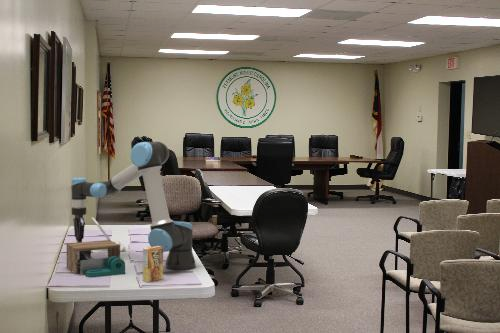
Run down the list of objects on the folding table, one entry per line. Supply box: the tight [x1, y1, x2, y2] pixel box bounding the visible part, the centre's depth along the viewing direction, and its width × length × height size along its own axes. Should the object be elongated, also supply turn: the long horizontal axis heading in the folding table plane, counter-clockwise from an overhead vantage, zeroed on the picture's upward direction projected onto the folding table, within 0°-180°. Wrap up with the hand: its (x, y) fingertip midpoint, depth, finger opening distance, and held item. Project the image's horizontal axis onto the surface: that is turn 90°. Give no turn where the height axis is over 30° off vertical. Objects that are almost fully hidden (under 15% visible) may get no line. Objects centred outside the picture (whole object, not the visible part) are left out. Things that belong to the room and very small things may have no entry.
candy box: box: [142, 246, 164, 283], centre depth 299 cm, size 9×4×15 cm, turn 137°
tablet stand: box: [91, 216, 127, 255], centre depth 371 cm, size 18×25×17 cm
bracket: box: [85, 256, 126, 278], centre depth 309 cm, size 18×7×8 cm, turn 121°
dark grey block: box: [78, 250, 119, 275], centre depth 323 cm, size 27×19×9 cm
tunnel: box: [66, 239, 121, 275], centre depth 320 cm, size 16×22×12 cm
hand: (79, 251), depth 341 cm, fingers closed
